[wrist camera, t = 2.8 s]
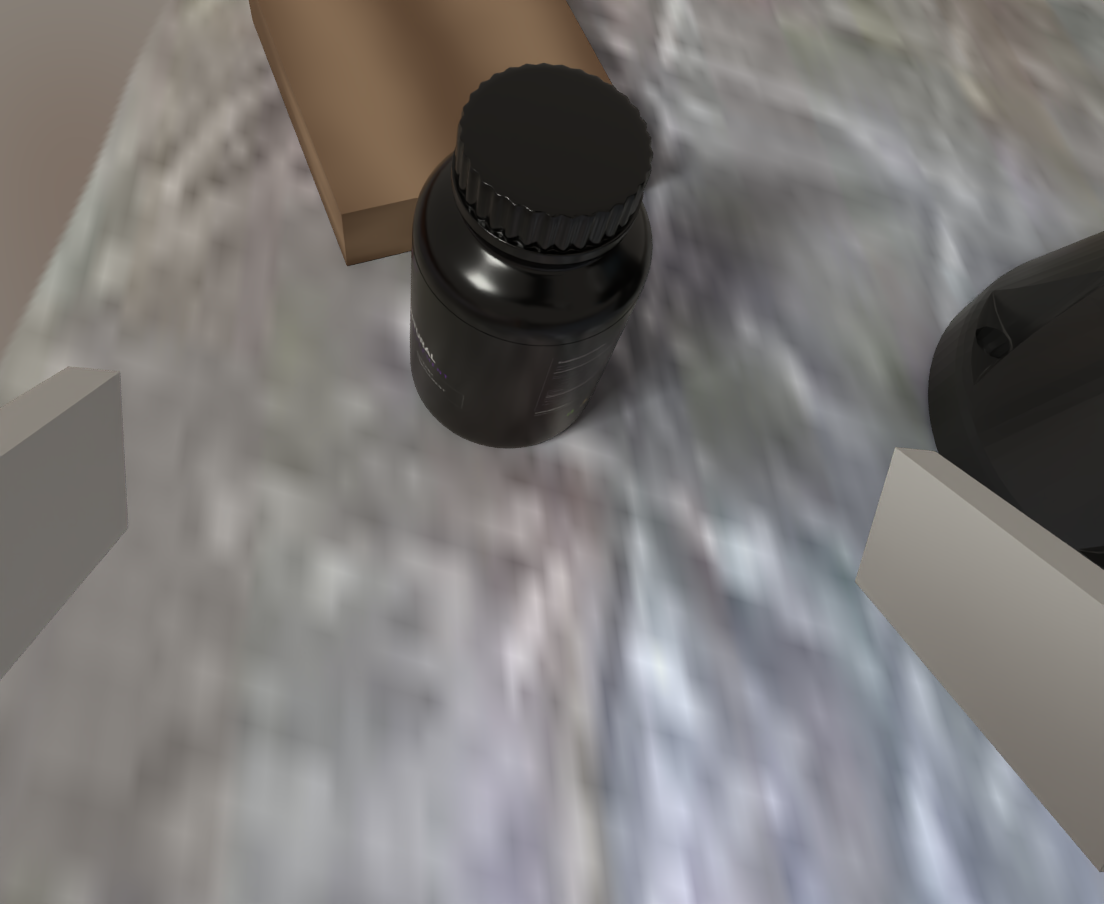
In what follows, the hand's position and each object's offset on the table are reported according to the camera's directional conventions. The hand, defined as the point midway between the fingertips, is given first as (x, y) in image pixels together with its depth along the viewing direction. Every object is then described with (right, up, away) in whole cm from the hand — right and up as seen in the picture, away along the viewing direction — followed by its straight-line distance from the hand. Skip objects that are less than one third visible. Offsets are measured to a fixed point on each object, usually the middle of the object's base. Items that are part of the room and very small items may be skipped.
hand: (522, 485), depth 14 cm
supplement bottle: (-1, +3, +17) cm, 17 cm away
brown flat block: (-4, +15, +21) cm, 26 cm away
